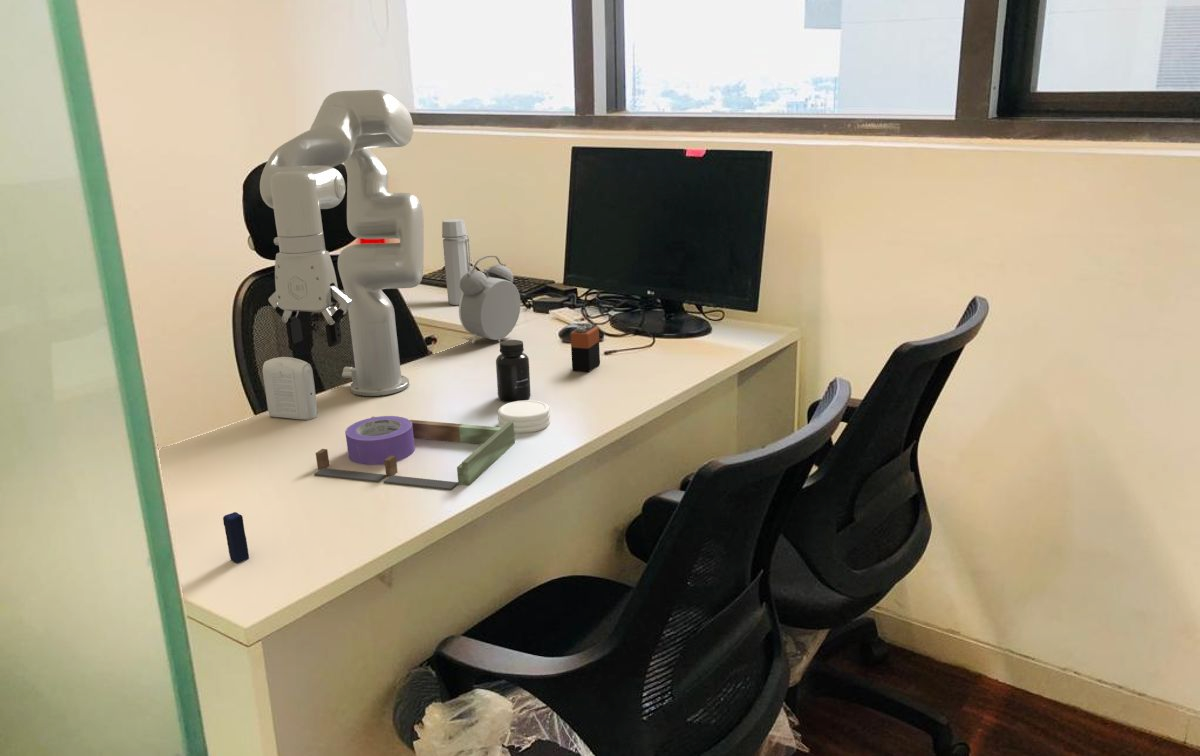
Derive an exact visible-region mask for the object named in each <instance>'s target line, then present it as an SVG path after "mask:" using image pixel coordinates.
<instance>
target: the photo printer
mask: <svg viewBox="0 0 1200 756" xmlns="http://www.w3.org/2000/svg"><path fill="white" fill-rule="evenodd" d="M262 376H263V377H262V378H263V384H264V391H265V397H266V406H267V412H268V415H269V416H270V417H273V418H285V419H295V420H306V421H307V420H309V421H310V420H313V419H315V418H316V417H317V415H318V414H319V413H318V405H317V395H316V388H315V387H316V386H315V380H314V372H313V367H312V365H311V364H310V363H308V362H307V361H305V360H302V359H299V358H295V357H291V356H290V357H289V356H279V357H278V356H277V357H273V358H270V359H268V360H266V361H264V363H263V365H262Z"/></svg>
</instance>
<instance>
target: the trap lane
mask: <svg viewBox="0 0 1200 756" xmlns="http://www.w3.org/2000/svg"><path fill="white" fill-rule="evenodd" d="M373 417H374V416H371V417H370V418H373ZM409 420H410V421H411V422H412V427H413V436H414V439H420V440H421V439H423V440H431V441H432V440H433V441H441V442H454V443H455V442H456V443H465V444H477V445H480V446H479V447H478V448H476V449H475V450H474V451H472V453H471V454H469V456H468V455H467V457H466V458H465V459H464V460H463V461H462V462H461V463H460V464H459V465H458V466H456V471H457V482H458V485H464V486H470V485H472V484H473V482H474V481H476V480H477V479H478V478H479V477H480V476H481V475H482V474H483V473H484V472H485V471H486V470H487V469H488V468H490V467H491V466H492V465H493V464H494V463H495V462H496V461H497V460H498V459H499V458H500V457H501V456H503V455H504V454H505V453H506V452H507V451H508V450H509V449H510V448H511V447H512V446H513V445H515V443H516V442H515V441H516V440H515V433H514V424H513V422H508V423H506V424H505V425H504V426H503V427H499V426H488V425H487V426H486V425H478V424H468V423H467V424H466V423H452V422H443V421H442V422H439V421H428V420H418V419H417V420H416V419H409ZM315 458H316V465H317V470H320V469H322V468H328V467H329V466H330V459H329V452H328V448H321V449H320V450H318V451H317V452H315ZM384 461H385V464H384V468H385V475H386V477H387V478H388V477H390V476H391V475H394V476H396V474H397V473H398V465H397V464H398V462H397V461H396V456H391V455H390V456H389V457H388V458H386V459H385V460H384Z"/></svg>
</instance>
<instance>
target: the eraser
mask: <svg viewBox="0 0 1200 756" xmlns="http://www.w3.org/2000/svg"><path fill="white" fill-rule="evenodd" d="M222 519H223V520H222V521H223V526H224V530H225V536H226V541H227V548H228V555H229V557H230V561H231V562H234V563H235V564H240V563H242V562H245V561H247V560H248V559H249V558H250V555H249V547H248V541H247V536H246V532H245V525H244V517H243V515H242V514H239V513H238V512H236V511H234V512H231V513H229V514H225V515H224V516H223V518H222Z"/></svg>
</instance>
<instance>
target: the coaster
mask: <svg viewBox="0 0 1200 756" xmlns="http://www.w3.org/2000/svg"><path fill="white" fill-rule="evenodd" d="M497 415H498V417H497V420H498V427H503V426H504V425H505V424H506V423H508V422H513V424H514V434H529V433H534V432H535V433H536V432H539V431H542V430H545V429H546V428H547V427H549V425H550V424H551V413H550V407H549V405H548V404H546V403H545V402H543V401H538V400H528V399H527V400H523V401H515V402H506V404H503V405H502V406H500V407H499V408H498V410H497Z"/></svg>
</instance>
